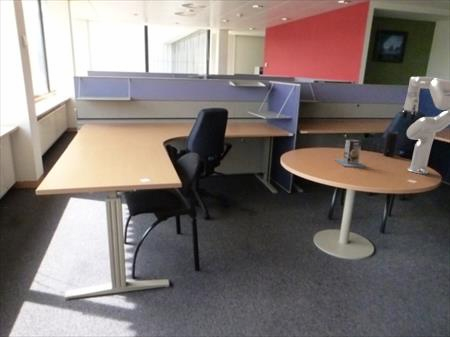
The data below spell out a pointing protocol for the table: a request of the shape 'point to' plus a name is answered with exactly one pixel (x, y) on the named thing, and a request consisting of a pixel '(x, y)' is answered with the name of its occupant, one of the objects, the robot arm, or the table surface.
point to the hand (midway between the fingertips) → (408, 118)
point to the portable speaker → (390, 143)
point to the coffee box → (352, 151)
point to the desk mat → (350, 164)
